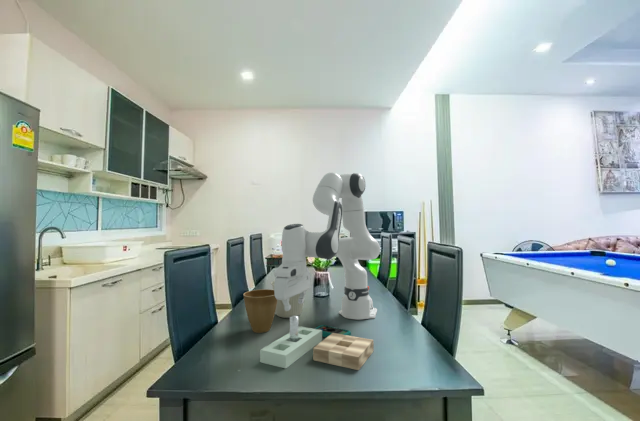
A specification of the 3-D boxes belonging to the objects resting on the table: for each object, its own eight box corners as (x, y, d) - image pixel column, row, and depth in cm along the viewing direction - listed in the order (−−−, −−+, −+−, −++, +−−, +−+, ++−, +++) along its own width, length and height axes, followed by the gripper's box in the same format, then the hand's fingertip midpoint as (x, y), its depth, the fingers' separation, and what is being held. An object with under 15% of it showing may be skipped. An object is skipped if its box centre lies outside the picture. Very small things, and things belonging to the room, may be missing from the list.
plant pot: (259, 322, 140) (259, 287, 141) (285, 328, 133) (285, 291, 134) (235, 332, 128) (235, 294, 128) (262, 339, 120) (262, 298, 121)
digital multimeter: (322, 330, 131) (322, 323, 131) (351, 337, 123) (351, 330, 123) (311, 335, 125) (311, 328, 125) (342, 343, 117) (342, 335, 117)
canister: (313, 313, 155) (313, 272, 156) (292, 323, 140) (292, 277, 141) (286, 308, 165) (286, 269, 166) (263, 316, 149) (263, 273, 151)
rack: (300, 336, 123) (300, 326, 123) (322, 340, 118) (322, 330, 118) (260, 362, 99) (260, 349, 100) (285, 368, 95) (285, 355, 95)
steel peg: (292, 348, 111) (292, 314, 112) (300, 349, 110) (300, 316, 110) (287, 351, 108) (287, 317, 109) (295, 352, 107) (295, 318, 107)
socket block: (332, 343, 115) (332, 332, 115) (373, 351, 108) (373, 339, 108) (313, 360, 101) (313, 348, 101) (358, 370, 94) (358, 357, 94)
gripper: (300, 264, 121) (301, 298, 121) (270, 272, 103) (271, 313, 102) (314, 264, 118) (315, 300, 118) (286, 273, 100) (287, 315, 100)
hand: (294, 306), depth 110 cm, fingers open, 8 cm apart
